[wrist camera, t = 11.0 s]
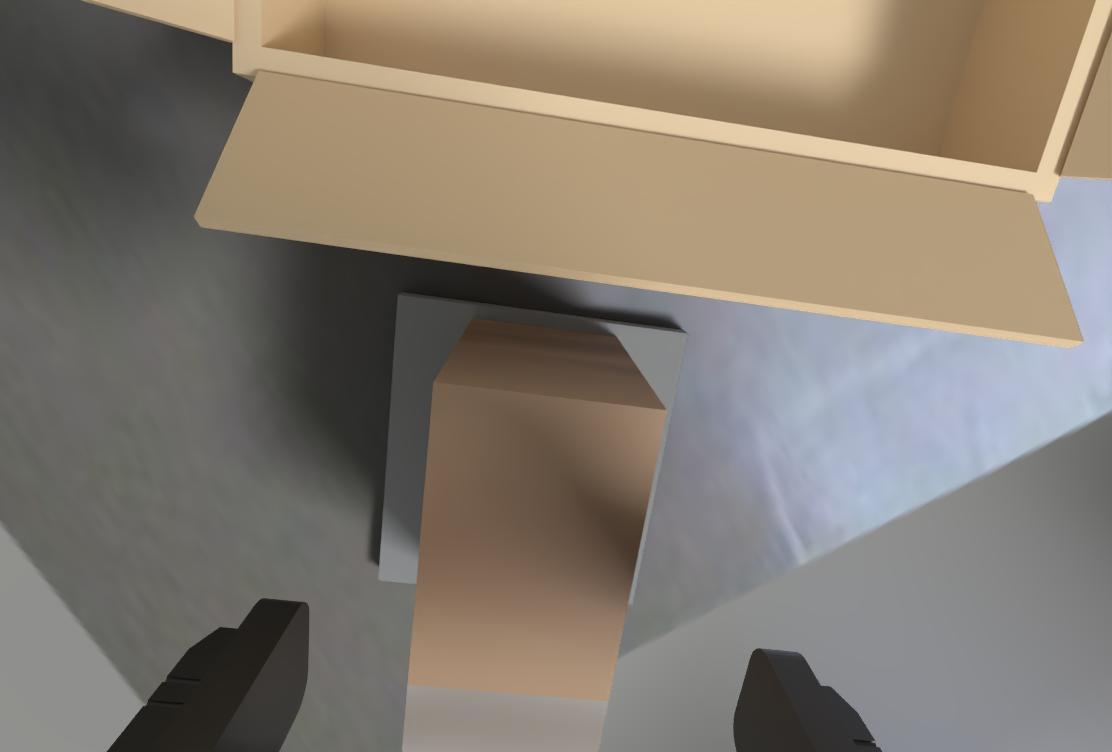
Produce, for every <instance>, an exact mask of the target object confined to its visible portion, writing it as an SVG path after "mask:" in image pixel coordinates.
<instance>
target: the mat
mask: <svg viewBox="0 0 1112 752" xmlns="http://www.w3.org/2000/svg"><path fill="white" fill-rule="evenodd" d="M472 318H476V319H483V320H491V321H499V322H506V323H514V324H522V325H530V326H537V327H545V328H553V329H560V330H568V331H576V332H583V333H591V334H599V335H606V336H614V337H617V338H618V339H619V341H620V342H621V344H622V345H623V347H624V348H625V350H626V351H627V352H628V354H629V355H630V357H631V358H632V360H633V361H634V363H635V364H636V366H637V367H638V369H639V370H640V372H641V373H642V374H643V376H644V377H645V379H646V380H647V382H648V383H649V385H650V386H651V388H652V389H653V391H654V392H655V393H656V395H657V396H658V398H659V399H660V401H661V402H662V404H663V405H664V407H665V408H666V410H667V413H666V418H665V423H664V428H663V433H662V438H661V443H660V448H659V453H658V458H657V463H656V468H655V473H654V478H653V483H652V488H651V493H650V498H649V503H648V508H647V513H646V518H645V523H644V528H643V533H642V538H641V543H640V548H639V553H638V558H637V563H636V568H635V573H634V577H633V582H632V587H631V592H630V597H629V602H628V605H632V604H633V599H634V594H635V589H636V584H637V579H638V575H639V570H640V565H641V560H642V555H643V550H644V545H645V541H646V536H647V531H648V526H649V521H650V516H651V511H652V507H653V502H654V497H655V492H656V487H657V482H658V477H659V473H660V468H661V463H662V458H663V453H664V448H665V443H666V439H667V434H668V429H669V424H670V419H671V414H672V410H673V405H674V400H675V395H676V390H677V385H678V380H679V376H680V371H681V366H682V361H683V356H684V351H685V346H686V342H687V337H688V333H687V332H685V331H684V330H679V329H672V328H665V327H657V326H650V325H642V324H635V323H627V322H620V321H613V320H605V319H598V318H590V317H583V316H575V315H568V314H561V313H553V312H546V311H538V310H531V309H523V308H516V307H509V306H501V305H494V304H486V303H479V302H471V301H464V300H456V299H449V298H442V297H434V296H427V295H419V294H412V293H404V292H402V293H400V294H398V297H397V312H396V327H395V342H394V356H393V371H392V386H391V401H390V416H389V430H388V445H387V460H386V475H385V490H384V504H383V519H382V534H381V549H380V563H379V578H378V580H380V581H390V582H401V583H411V584H416V581H417V569H418V558H419V546H420V534H421V522H422V511H423V499H424V487H425V475H426V464H427V452H428V440H429V428H430V417H431V405H432V393H433V382H434V380H435V379H436V377H437V375H438V374H439V372H440V370H441V369H442V367H443V366H444V364H445V362H446V361H447V359H448V357H449V356H450V354H451V352H452V351H453V349H454V348H455V346H456V344H457V343H458V341H459V339H460V338H461V336H462V334H463V333H464V331H465V329H466V328H467V326H468V325H469V323H470V321H471V320H472Z"/></svg>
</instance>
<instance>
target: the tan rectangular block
mask: <svg viewBox="0 0 1112 752" xmlns="http://www.w3.org/2000/svg"><path fill="white" fill-rule="evenodd" d="M666 413H667V410H666V408H665V407H664V405H663V404H662V402H661V401H660V399H659V398H658V396H657V395H656V393H655V392H654V391H653V389H652V388H651V386H650V385H649V383H648V382H647V380H646V379H645V377H644V376H643V374H642V373H641V372H640V370H639V369H638V367H637V366H636V364H635V363H634V361H633V360H632V358H631V357H630V355H629V354H628V352H627V351H626V350H625V348H624V347H623V345H622V344H621V342H620V341H619V339H618V338H617V337H614V336H606V335H599V334H591V333H583V332H576V331H568V330H560V329H553V328H545V327H537V326H530V325H522V324H514V323H506V322H499V321H491V320H483V319H476V318H472V320H471V321H470V323H469V325H468V326H467V328H466V329H465V331H464V333H463V334H462V336H461V338H460V339H459V341H458V343H457V344H456V346H455V348H454V349H453V351H452V352H451V354H450V356H449V357H448V359H447V361H446V362H445V364H444V366H443V367H442V369H441V370H440V372H439V374H438V375H437V377H436V379H435V380H434V382H433V393H432V405H431V417H430V428H429V440H428V452H427V464H426V475H425V487H424V499H423V511H422V522H421V534H420V546H419V558H418V569H417V581H416V593H415V605H414V616H413V628H412V640H411V652H410V663H409V675H408V687H407V699H406V710H405V722H404V734H403V746H402V752H599V746H600V742H601V737H602V732H603V727H604V722H605V717H606V712H607V707H608V702H609V697H610V692H611V687H612V682H613V677H614V672H615V667H616V662H617V657H618V652H619V647H620V642H621V637H622V632H623V627H624V622H625V617H626V612H627V607H628V602H629V597H630V592H631V587H632V582H633V577H634V573H635V568H636V563H637V558H638V553H639V548H640V543H641V538H642V533H643V528H644V523H645V518H646V513H647V508H648V503H649V498H650V493H651V488H652V483H653V478H654V473H655V468H656V463H657V458H658V453H659V448H660V443H661V438H662V433H663V428H664V423H665V418H666Z"/></svg>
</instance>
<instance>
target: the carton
mask: <svg viewBox="0 0 1112 752" xmlns="http://www.w3.org/2000/svg"><path fill="white" fill-rule="evenodd" d="M81 1H85V2H88V3H92V4H95V5H99V6H103V7H106V8H110V9H113V10H117V11H120V12H124V13H127V14H131V15H134V16H138V17H141V18H145V19H148V20H152V21H156V22H159V23H163V24H166V25H170V26H173V27H177V28H180V29H184V30H187V31H191V32H194V33H198V34H201V35H205V36H209V37H212V38H216V39H219V40H223V41H226V42H230V43H231V42H233V73H235V74H237V75H239V76H241V77H243V78H245V79H247V80H249V81H252V82H253V84H252V87H251V89H250V91H249V93H248V96H247V98H246V100H245V102H244V105H243V107H242V109H241V111H240V114H239V116H238V118H237V121H236V123H235V125H234V127H233V130H232V132H231V134H230V136H229V139H228V141H227V143H226V145H225V148H224V150H223V152H222V154H221V157H220V159H219V161H218V163H217V166H216V168H215V170H214V172H213V175H212V177H211V179H210V181H209V184H208V186H207V188H206V190H205V193H204V195H203V197H202V199H201V202H200V204H199V206H198V208H197V211H196V213H195V215H194V218H195V219H196V221H197V222H198V224H199V225H200V227H203V228H210V229H217V230H225V231H232V232H239V233H246V234H253V235H261V236H268V237H275V238H282V239H289V240H296V241H304V242H311V243H318V244H325V245H332V246H340V247H347V248H354V249H361V250H368V251H375V252H383V253H390V254H397V255H404V256H411V257H419V258H426V259H433V260H440V261H447V262H454V263H462V264H469V265H476V266H483V267H490V268H498V269H505V270H512V271H519V272H526V273H533V274H541V275H548V276H555V277H562V278H569V279H577V280H584V281H591V282H598V283H605V284H612V285H620V286H627V287H634V288H641V289H648V290H656V291H663V292H670V293H677V294H684V295H691V296H699V297H706V298H713V299H720V300H727V301H735V302H742V303H749V304H756V305H763V306H770V307H778V308H785V309H792V310H799V311H806V312H814V313H821V314H828V315H835V316H842V317H849V318H857V319H864V320H871V321H878V322H885V323H893V324H900V325H907V326H914V327H921V328H928V329H936V330H943V331H950V332H957V333H964V334H972V335H979V336H986V337H993V338H1000V339H1007V340H1015V341H1022V342H1029V343H1036V344H1043V345H1051V346H1058V347H1065V348H1072V347H1075V346H1077V345H1079V344H1081V343H1083V342H1084V340H1083V337H1082V334H1081V331H1080V328H1079V325H1078V322H1077V320H1076V317H1075V314H1074V311H1073V308H1072V305H1071V302H1070V299H1069V296H1068V293H1067V291H1066V288H1065V285H1064V282H1063V279H1062V276H1061V273H1060V270H1059V267H1058V264H1057V262H1056V259H1055V256H1054V253H1053V250H1052V247H1051V244H1050V241H1049V238H1048V235H1047V233H1046V230H1045V227H1044V224H1043V221H1042V218H1041V215H1040V212H1039V209H1038V206H1037V204H1036V203H1051V200H1052V198H1053V195H1054V192H1055V189H1056V186H1057V184H1058V181H1059V178H1060V177H1061V178H1078V179H1096V180H1112V0H81Z"/></svg>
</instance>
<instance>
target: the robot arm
mask: <svg viewBox="0 0 1112 752" xmlns="http://www.w3.org/2000/svg"><path fill="white" fill-rule="evenodd" d="M308 647H309V606H308V604H307V603H306V602H297V601H287V600H277V599H266V598H262V599H260V600H259V601H258V602H257V603H256V604H255V606H254V607H253V608H252V610H251V611H250V613H249V614H248V615H247V617H246V618H245V620H244V621H243V622H242V624H241V625H240V626H239V628H238V629H234V628H223V627H220V628H218V629H217V630H215V631H214V632H213V633H211V634H210V635H208V636H207V637H205V638H204V639H203V640H201V641H200V642H198V643H197V644H195V645H194V646H193V647H191V648H190V649H189V650H188V651H187V652H186V653H185V655H184V656H183V657H182V658H181V660H180V661H179V662H178V663H177V665H176V666H175V667H174V668H173V670H172V671H171V672H170V673H169V675H168V676H167V679H166V681H165V682H162V683H161V685H160V686H159V687H158V688H157V690H156V691H155V692H154V693H153V695H152V696H151V697H150V698H149V700H148V703H147V705H146V706H143V707H142V708H141V710H140V711H139V712H138V713H137V715H136V716H135V717H134V718H133V720H132V721H131V722H130V723H129V725H128V726H127V727H126V728H125V730H124V731H123V732H122V733H121V735H120V736H119V737H118V738H117V740H116V741H115V742H114V743H113V745H112V746H111V747H110V748H109V750H108V751H107V752H279V751H280V749H281V747H282V745H283V743H284V740H285V738H286V736H287V734H288V732H289V730H290V728H291V726H292V724H293V722H294V720H295V718H296V716H297V713H298V711H299V708H300V706H301V703H302V700H303V696H304V692H305V688H306V683H307V676H308ZM733 725H734V726H733V728H734V741H735V746H736V750H737V752H882V751H881V749H880V748H879V747H876V744H875V742H876V741H875V740H874V738H873V737H872V735H871V733H870V732H869V730H868V729H867V727H866V725H865V724H864V722H863V721H862V719H861V717H860V716H859V714H858V713H857V712H856V711H855V710H854V709H853V708H852V707H851V706H850V705H849V704H848V703H847V702H846V701H845V700H844V699H843V698H842V697H841V696H839V694H838V693H837V692H836V691H835V690H834V689H832V688H831V687H829V686H821V685H820V684H819V682H818V680H817V679H816V677H815V675H814V673H813V672H812V670H811V668H810V667H809V665H808V663H807V662H806V660H805V658H804V657H803V656H802V655H801V654H800V653H798V652H790V651H780V650H770V649H760V648H759V649H756V650H754V651H753V653H752V655H751V658H750V661H749V665H748V668H747V672H746V675H745V679H744V682H743V686H742V689H741V693H740V696H739V700H738V703H737V707H736V711H735V715H734V724H733Z"/></svg>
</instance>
